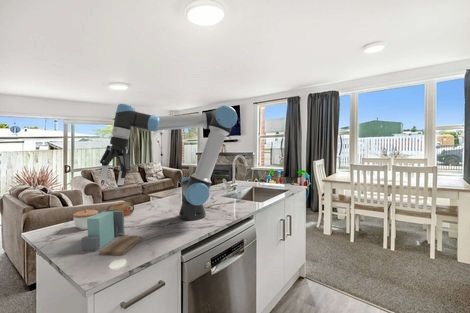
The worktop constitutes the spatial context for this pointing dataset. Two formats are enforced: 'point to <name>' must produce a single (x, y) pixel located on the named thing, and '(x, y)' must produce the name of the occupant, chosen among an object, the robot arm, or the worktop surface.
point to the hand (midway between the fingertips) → (111, 182)
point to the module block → (101, 227)
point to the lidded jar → (83, 218)
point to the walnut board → (121, 245)
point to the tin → (122, 208)
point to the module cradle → (93, 241)
